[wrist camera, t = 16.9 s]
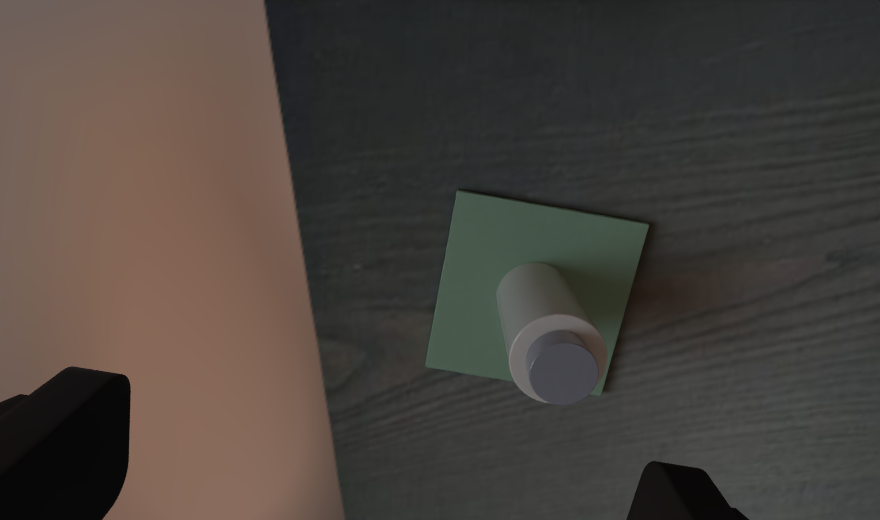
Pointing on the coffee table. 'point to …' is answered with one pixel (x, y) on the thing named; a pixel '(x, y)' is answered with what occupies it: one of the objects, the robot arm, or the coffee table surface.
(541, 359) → the spice bottle
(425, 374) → the coffee table surface
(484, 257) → the mat
